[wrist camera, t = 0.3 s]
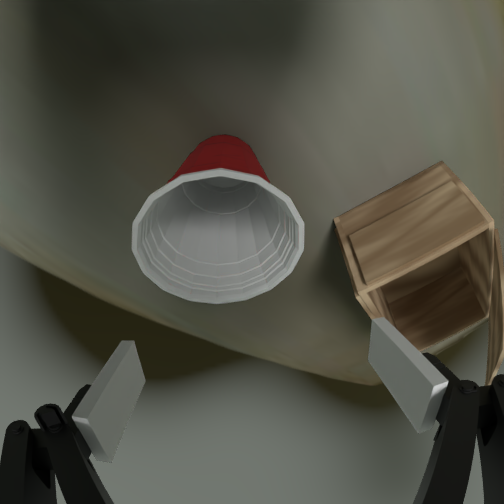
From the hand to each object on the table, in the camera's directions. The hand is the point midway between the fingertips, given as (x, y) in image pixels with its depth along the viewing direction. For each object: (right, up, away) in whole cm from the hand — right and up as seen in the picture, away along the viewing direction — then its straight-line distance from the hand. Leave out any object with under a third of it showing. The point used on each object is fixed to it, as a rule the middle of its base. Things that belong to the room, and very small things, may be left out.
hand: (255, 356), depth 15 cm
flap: (+26, +2, +9) cm, 28 cm away
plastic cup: (-3, +14, +12) cm, 18 cm away
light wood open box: (+20, +6, +19) cm, 29 cm away
